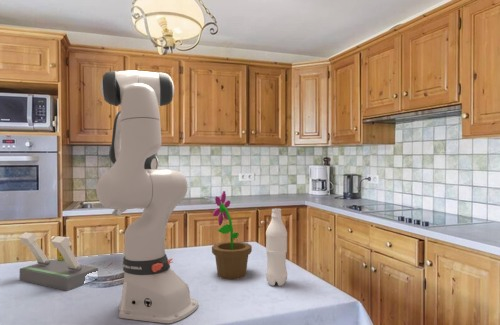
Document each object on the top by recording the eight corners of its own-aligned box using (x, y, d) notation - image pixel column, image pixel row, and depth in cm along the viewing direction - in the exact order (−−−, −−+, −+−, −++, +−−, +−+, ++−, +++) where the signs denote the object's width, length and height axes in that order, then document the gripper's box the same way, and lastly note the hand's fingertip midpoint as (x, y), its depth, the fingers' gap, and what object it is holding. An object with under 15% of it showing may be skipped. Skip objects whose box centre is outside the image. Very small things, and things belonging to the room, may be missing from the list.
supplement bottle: (71, 258, 150) (70, 235, 149) (72, 261, 145) (72, 238, 145) (56, 260, 147) (56, 237, 147) (57, 263, 142) (57, 239, 142)
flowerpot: (224, 266, 138) (223, 189, 138) (258, 271, 132) (257, 190, 132) (204, 277, 125) (203, 192, 125) (240, 283, 119) (240, 194, 119)
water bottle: (291, 283, 120) (291, 209, 119) (278, 289, 114) (278, 211, 114) (275, 278, 125) (274, 207, 124) (261, 283, 119) (261, 209, 119)
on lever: (51, 261, 128) (33, 233, 121) (45, 267, 126) (27, 238, 119) (43, 260, 129) (25, 232, 123) (37, 265, 127) (18, 237, 121)
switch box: (98, 279, 124) (97, 266, 124) (67, 291, 113) (67, 277, 113) (51, 270, 134) (51, 258, 134) (19, 280, 123) (19, 267, 123)
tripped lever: (83, 267, 121) (66, 237, 115) (77, 273, 119) (60, 242, 113) (74, 265, 123) (57, 235, 117) (68, 271, 121) (50, 241, 115)
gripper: (110, 181, 148) (91, 208, 139) (149, 182, 139) (131, 211, 130) (119, 191, 152) (100, 217, 143) (157, 193, 143) (140, 221, 134)
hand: (115, 214), depth 137 cm, fingers closed
